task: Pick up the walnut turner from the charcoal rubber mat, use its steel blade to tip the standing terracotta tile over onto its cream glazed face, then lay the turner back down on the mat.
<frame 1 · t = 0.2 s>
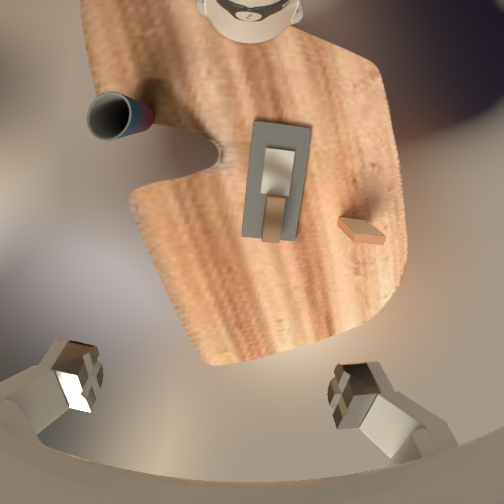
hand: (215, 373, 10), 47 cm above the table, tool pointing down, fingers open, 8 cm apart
turner: (274, 193, 54), point 1 cm above the table, touching rest mat
cup: (141, 118, 48), on the table
tile: (351, 223, 58), on the table
rest mat: (275, 182, 54), on the table
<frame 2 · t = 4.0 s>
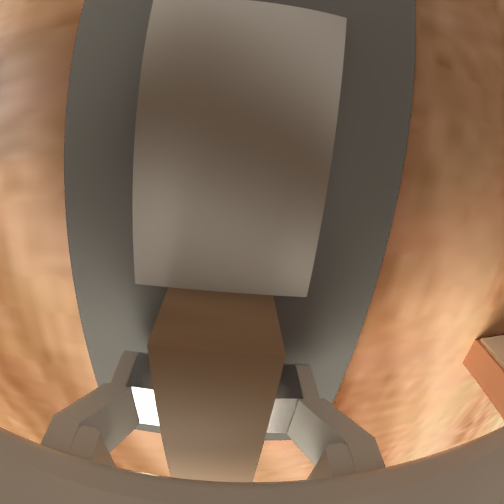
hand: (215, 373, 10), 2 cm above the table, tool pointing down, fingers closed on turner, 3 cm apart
turner: (221, 281, 9), point 1 cm above the table, touching gripper, rest mat
tile: (499, 346, 13), on the table
rest mat: (227, 209, 9), on the table
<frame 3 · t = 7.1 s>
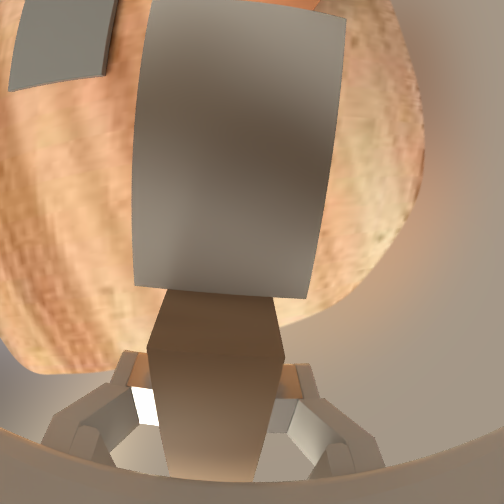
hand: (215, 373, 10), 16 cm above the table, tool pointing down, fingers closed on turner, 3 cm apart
turner: (220, 283, 9), point 15 cm above the table, touching gripper
tile: (254, 23, 18), on the table
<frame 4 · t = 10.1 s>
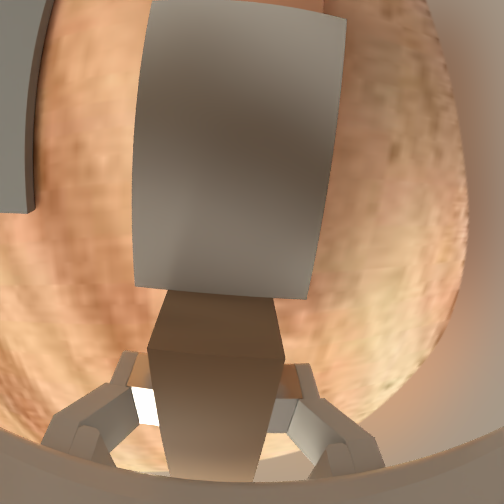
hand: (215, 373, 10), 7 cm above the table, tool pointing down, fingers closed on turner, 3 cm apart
turner: (221, 284, 9), point 6 cm above the table, touching gripper
tile: (240, 103, 12), point 1 cm above the table, tilted 90°
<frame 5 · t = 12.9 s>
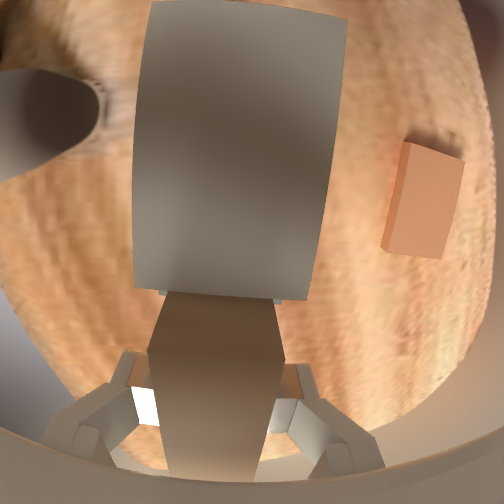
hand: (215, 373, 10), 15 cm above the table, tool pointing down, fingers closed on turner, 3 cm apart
turner: (221, 285, 9), point 14 cm above the table, touching gripper
tile: (411, 252, 24), point 1 cm above the table, tilted 90°
when the fingers open (4 cm above the table, at t = 15.3 s): turner drops 2 cm, resting on rest mat.
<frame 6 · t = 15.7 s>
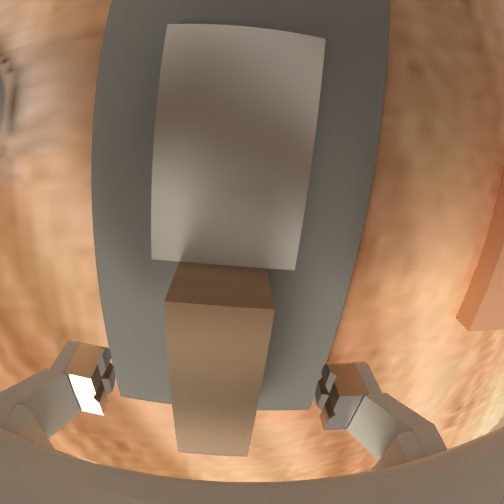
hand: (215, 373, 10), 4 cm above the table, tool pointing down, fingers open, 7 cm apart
turner: (223, 258, 11), point 1 cm above the table, touching rest mat
tile: (490, 322, 14), point 1 cm above the table, tilted 90°
rest mat: (228, 196, 11), on the table
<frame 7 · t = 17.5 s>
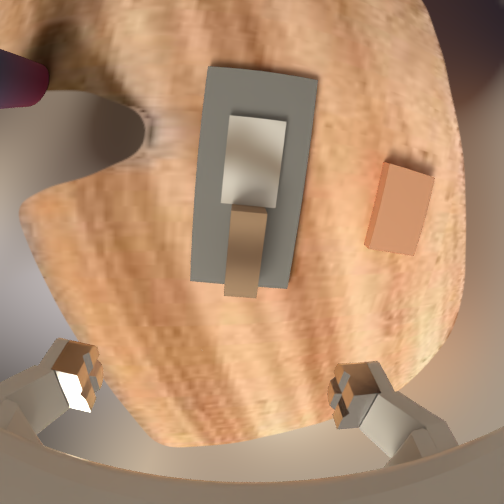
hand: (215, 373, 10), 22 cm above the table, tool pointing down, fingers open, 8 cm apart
turner: (248, 204, 29), point 1 cm above the table, touching rest mat
cup: (33, 85, 23), on the table
tile: (389, 249, 31), point 1 cm above the table, tilted 90°
rest mat: (250, 180, 29), on the table
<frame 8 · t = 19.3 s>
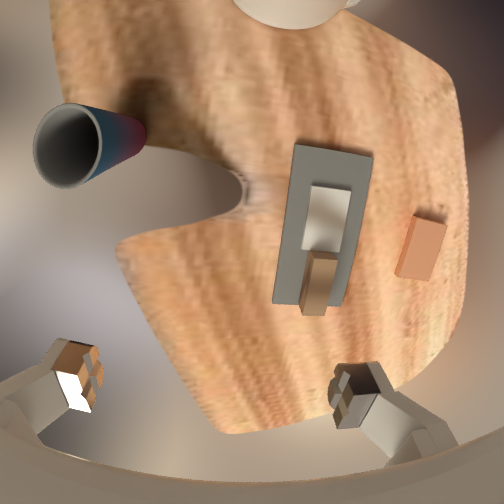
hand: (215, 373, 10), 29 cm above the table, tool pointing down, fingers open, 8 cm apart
turner: (319, 249, 39), point 1 cm above the table, touching rest mat
cup: (127, 137, 33), on the table
tile: (411, 277, 42), point 1 cm above the table, tilted 90°
rest mat: (321, 231, 39), on the table
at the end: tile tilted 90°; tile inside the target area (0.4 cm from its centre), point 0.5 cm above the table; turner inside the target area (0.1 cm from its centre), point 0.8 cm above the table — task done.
